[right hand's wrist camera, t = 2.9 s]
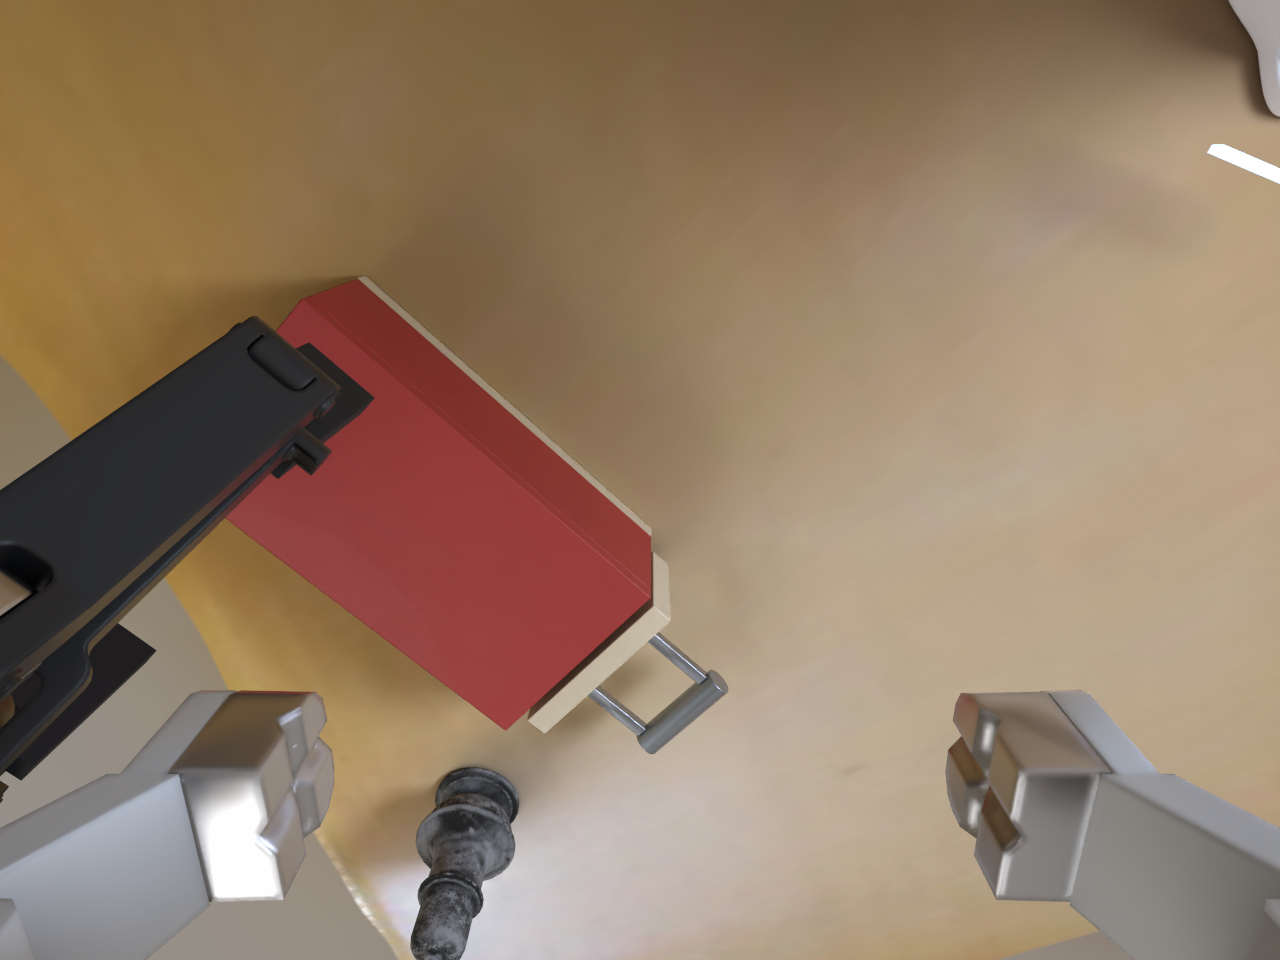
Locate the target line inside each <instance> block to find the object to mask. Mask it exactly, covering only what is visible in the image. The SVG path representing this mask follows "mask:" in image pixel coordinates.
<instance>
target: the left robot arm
mask: <svg viewBox="0 0 1280 960" xmlns="http://www.w3.org/2000/svg"><path fill="white" fill-rule="evenodd" d="M374 398H375V397H373V396H372V395H371V394H370V393H369V392H367V391H366V390H365V389H364V388H363V387H362V386H360V385H359V384H358V383H357V382H356V381H355V380H353V379H352V378H351V377H350V376H349V375H347V374H346V373H345V372H344V371H343V370H342V369H340V368H339V367H338V366H337V365H336V364H334V363H333V362H332V361H331V360H330V359H329V358H327V357H326V356H325V355H324V354H323V353H322V352H320V351H319V350H318V349H317V348H316V347H314V346H313V345H312V344H311V343H310V342H308V343H306V344H304V345H302V346H300V347H298V348H294V347H293V346H292V345H291V344H290V343H288V342H287V341H286V340H285V339H284V338H282V337H281V336H280V335H279V334H278V333H276V332H275V331H274V330H273V329H272V328H270V327H269V326H268V325H267V324H266V323H264V322H263V321H262V320H261V319H260V318H259V317H257V316H252V317H250V318H248V319H247V320H246V321H244V322H243V323H238V324H236V325H235V326H234V327H233V328H231V329H230V331H229V332H228V333H227V334H225V335H224V336H222V337H221V338H220V339H218V340H217V341H215V342H214V343H212V344H211V345H209V346H208V347H207V348H205V349H204V350H202V351H201V352H199V353H198V354H196V355H195V356H194V357H192V358H191V359H189V360H188V361H186V362H185V363H183V364H182V365H181V366H179V367H178V368H176V369H175V370H173V371H172V372H170V373H169V374H168V375H166V376H165V377H163V378H162V379H160V380H159V381H157V382H156V383H155V384H153V385H152V386H150V387H149V388H147V389H146V390H144V391H143V392H142V393H140V394H139V395H137V396H136V397H134V398H133V399H131V400H130V401H129V402H127V403H126V404H124V405H123V406H121V407H120V408H118V409H117V410H116V411H114V412H113V413H111V414H110V415H108V416H107V417H105V418H104V419H103V420H101V421H100V422H98V423H97V424H95V425H94V426H92V427H91V428H90V429H88V430H87V431H85V432H84V433H82V434H81V435H79V436H78V437H77V438H75V439H74V440H72V441H71V442H69V443H68V444H66V445H65V446H64V447H62V448H61V449H59V450H58V451H56V452H55V453H53V454H52V455H50V456H49V457H48V458H46V459H45V460H43V461H42V462H40V463H39V464H37V465H36V466H35V467H33V468H32V469H30V470H29V471H27V472H26V473H25V474H23V475H22V476H20V477H19V478H17V479H16V480H14V481H13V482H12V483H10V484H9V485H7V486H6V487H4V488H3V489H1V490H0V776H1V775H2V774H3V773H4V772H5V771H7V772H9V773H10V774H12V775H13V776H15V777H16V778H18V779H20V780H22V779H23V778H24V777H25V776H27V775H28V774H29V773H30V772H31V771H32V770H33V769H34V768H35V767H36V766H37V765H38V764H39V763H40V762H41V761H42V760H43V759H44V758H46V757H47V756H48V755H49V754H50V753H51V752H52V751H53V750H54V749H55V748H56V747H57V746H58V745H59V744H60V743H61V742H62V741H63V740H65V739H66V738H67V737H68V736H69V735H70V734H71V733H72V732H73V731H74V730H75V729H76V728H77V727H78V726H79V725H80V724H82V723H83V722H84V721H85V720H86V719H87V718H88V717H89V716H90V715H91V714H92V713H93V712H94V711H95V710H96V709H97V708H98V707H99V706H101V705H102V704H103V703H104V702H105V701H106V700H107V699H108V698H109V697H110V696H111V695H112V694H113V693H114V692H115V691H116V690H118V689H119V688H120V687H121V686H122V685H123V684H124V683H125V682H126V681H127V680H128V679H129V678H130V677H131V676H132V675H133V674H134V673H135V672H136V671H138V670H139V669H140V668H141V667H142V666H143V665H144V664H145V663H146V662H147V661H148V660H149V658H150V657H151V656H152V655H153V654H154V653H155V652H156V650H155V649H154V648H152V647H151V646H149V645H148V644H147V643H145V642H144V641H142V640H141V639H140V638H138V637H137V636H135V635H134V634H132V633H131V632H130V631H128V630H127V629H125V628H124V627H123V626H121V625H120V624H118V622H119V621H120V620H121V619H122V618H123V617H124V616H125V615H126V614H127V613H128V612H129V611H130V610H131V609H132V608H133V607H134V606H136V605H137V604H138V603H139V602H140V601H141V600H142V599H143V598H144V597H145V596H146V595H147V594H148V593H149V592H150V591H151V590H152V589H153V588H154V587H155V586H156V585H157V584H158V583H159V582H160V581H161V580H162V579H163V578H164V577H165V576H166V575H167V574H168V573H169V572H170V571H171V570H172V569H173V568H174V567H175V566H176V565H177V564H178V563H179V562H180V561H181V560H182V559H183V558H185V557H186V556H187V555H188V554H189V553H190V552H191V551H192V550H193V549H194V548H195V547H196V546H197V545H198V544H199V543H200V542H201V541H202V540H203V539H204V538H205V537H206V536H207V535H208V534H209V533H210V532H211V531H212V530H213V529H214V528H215V527H216V526H217V525H218V524H219V523H220V522H221V521H222V520H223V519H224V518H225V517H226V516H227V515H228V514H229V513H230V512H231V511H232V510H234V509H235V508H236V507H237V506H238V505H239V504H240V503H241V502H242V501H243V500H244V499H245V498H246V497H247V496H248V495H249V494H250V493H251V492H252V491H253V490H254V489H255V488H256V487H257V486H258V485H259V484H260V483H261V482H262V481H263V480H264V479H265V478H266V477H267V476H268V475H269V474H270V473H271V474H272V475H273V476H274V477H276V478H277V479H279V478H280V477H282V476H283V475H284V474H285V473H287V472H288V471H289V470H291V469H292V468H293V467H294V466H296V465H298V466H299V467H301V468H302V469H303V470H304V471H306V472H307V473H308V474H309V475H311V476H312V475H313V474H314V473H315V471H316V470H317V469H318V468H319V467H320V466H321V465H322V464H323V463H324V462H325V460H326V459H327V458H328V457H329V456H330V454H331V453H332V450H331V449H329V448H328V447H327V446H326V445H324V444H323V443H325V442H326V441H327V440H329V439H330V438H331V437H332V436H334V435H335V434H336V433H337V432H339V431H340V430H341V429H342V428H344V427H345V426H346V425H348V424H349V423H350V422H351V421H353V420H354V419H355V418H356V417H358V416H359V415H360V414H361V413H362V412H363V411H364V410H365V409H366V408H367V407H368V405H369V404H370V403H371V402H372V401H373V400H374ZM8 787H9V786H7V785H6V784H4V783H3V782H1V781H0V803H1V802H2V800H3V799H2V797H3V793H4V792H5V791H6V790H7V788H8Z"/></svg>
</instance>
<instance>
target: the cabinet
mask: <svg viewBox="0 0 1280 960" xmlns="http://www.w3.org/2000/svg"><path fill="white" fill-rule="evenodd" d="M276 333H278V334H279V335H280V336H281V337H282V338H284V339H285V340H286V341H287V342H288V343H290V344H291V345H292V346H293V347H294V348H298V347H300V346H302V345H304V344H306V343H308V342H310V343H311V344H312V345H313V346H314V347H316V348H317V349H318V350H319V351H320V352H322V353H323V354H324V355H325V356H326V357H327V358H329V359H330V360H331V361H332V362H333V363H334V364H336V365H337V366H338V367H339V368H340V369H342V370H343V371H344V372H345V373H346V374H347V375H349V376H350V377H351V378H352V379H353V380H355V381H356V382H357V383H358V384H359V385H360V386H362V387H363V388H364V389H365V390H366V391H367V392H369V393H370V394H371V395H372V396H373V397H375V398H374V400H373V401H372V402H371V403H370V404H369V405H368V407H367V408H366V409H365V410H364V411H363V412H362V413H361V414H360V415H359V416H358V417H356V418H355V419H354V420H353V421H351V422H350V423H349V424H348V425H346V426H345V427H344V428H342V429H341V430H340V431H339V432H337V433H336V434H335V435H334V436H332V437H331V438H330V439H329V440H327V441H326V442H325V443H323V444H324V445H326V446H327V447H328V448H329V449H331V450H332V453H331V454H330V456H329V457H328V458H327V459H326V460H325V462H324V463H323V464H322V465H321V466H320V467H319V468H318V469H317V470H316V471H315V473H314V474H313V475H312V476H311V475H309V474H308V473H307V472H306V471H304V470H303V469H302V468H301V467H299V466H298V465H296V466H294V467H293V468H292V469H291V470H289V471H288V472H287V473H285V474H284V475H283V476H282V477H280V478H279V479H277V478H276V477H274V476H273V475H272V474H271V473H270V474H269V475H268V476H267V477H266V478H265V479H264V480H263V481H262V482H261V483H260V484H259V485H258V486H257V487H256V488H255V489H254V490H253V491H252V492H251V493H250V494H249V495H248V496H247V497H246V498H245V499H244V500H243V501H242V502H241V503H240V504H239V505H238V506H237V507H236V508H235V509H234V510H232V511H231V512H230V513H229V514H228V515H227V516H226V517H225V518H226V519H227V520H228V521H230V522H231V523H232V524H234V525H235V526H236V527H238V528H239V529H240V530H242V531H243V532H244V533H246V534H247V535H248V536H250V537H251V538H252V539H254V540H255V541H256V542H257V543H259V544H260V545H261V546H263V547H264V548H265V549H267V550H268V551H269V552H271V553H272V554H273V555H275V556H276V557H277V558H279V559H280V560H281V561H283V562H284V563H285V564H287V565H288V566H289V567H290V568H292V569H293V570H294V571H296V572H297V573H298V574H300V575H301V576H302V577H304V578H305V579H306V580H308V581H309V582H310V583H312V584H313V585H314V586H316V587H317V588H318V589H319V590H321V591H322V592H323V593H325V594H326V595H327V596H329V597H330V598H331V599H333V600H334V601H335V602H337V603H338V604H339V605H341V606H342V607H343V608H345V609H346V610H347V611H349V612H350V613H351V614H352V615H354V616H355V617H356V618H358V619H359V620H360V621H362V622H363V623H364V624H366V625H367V626H368V627H370V628H371V629H372V630H374V631H375V632H376V633H378V634H379V635H380V636H381V637H383V638H384V639H385V640H387V641H388V642H389V643H391V644H392V645H393V646H395V647H396V648H397V649H399V650H400V651H401V652H403V653H404V654H405V655H407V656H408V657H409V658H411V659H412V660H413V661H414V662H416V663H417V664H418V665H420V666H421V667H422V668H424V669H425V670H426V671H428V672H429V673H430V674H432V675H433V676H434V677H436V678H437V679H438V680H440V681H441V682H442V683H443V684H445V685H446V686H447V687H449V688H450V689H451V690H453V691H454V692H455V693H457V694H458V695H459V696H461V697H462V698H463V699H465V700H466V701H467V702H469V703H470V704H471V705H473V706H474V707H475V708H476V709H478V710H479V711H480V712H482V713H483V714H484V715H486V716H487V717H488V718H490V719H491V720H492V721H494V722H495V723H496V724H498V725H499V726H500V727H502V728H503V729H504V730H507V729H508V728H509V727H510V726H511V725H512V724H513V723H514V722H516V721H517V720H518V719H519V718H520V717H521V716H522V715H523V714H524V713H525V712H527V711H528V710H529V709H530V708H531V707H532V706H533V705H534V704H535V703H536V702H537V701H539V700H540V699H541V698H542V697H543V696H544V695H545V694H546V693H547V692H548V691H549V690H551V689H552V688H553V687H554V686H555V685H556V684H557V683H558V682H559V681H560V680H562V679H563V678H564V677H565V676H566V675H567V674H568V673H569V672H570V671H571V670H572V669H574V668H575V667H576V666H577V665H578V664H579V663H580V662H581V661H582V660H583V659H584V658H586V657H587V656H588V655H589V654H590V653H591V652H592V651H593V650H594V649H595V648H596V647H598V646H599V645H600V644H601V643H602V642H603V641H604V640H605V639H606V638H607V637H609V636H610V635H611V634H612V633H613V632H614V631H615V630H616V629H617V628H618V627H619V626H621V625H622V624H623V623H624V622H625V621H626V620H627V619H628V618H629V617H630V616H631V615H633V614H634V613H635V612H636V611H637V610H638V609H639V608H640V607H641V606H642V605H643V604H645V603H646V602H647V601H648V600H649V599H650V598H651V537H652V529H651V528H650V527H649V526H648V525H647V524H646V523H645V522H643V521H642V520H641V519H640V518H639V517H638V516H637V515H635V514H634V513H633V512H632V511H631V510H630V509H629V508H628V507H626V506H625V505H624V504H623V503H622V502H621V501H620V500H618V499H617V498H616V497H615V496H614V495H613V494H612V493H611V492H609V491H608V490H607V489H606V488H605V487H604V486H603V485H602V484H600V483H599V482H598V481H597V480H596V479H595V478H594V477H592V476H591V475H590V474H589V473H588V472H587V471H586V470H585V469H583V468H582V467H581V466H580V465H579V464H578V463H577V462H575V461H574V460H573V459H572V458H571V457H570V456H569V455H568V454H566V453H565V452H564V451H563V450H562V449H561V448H560V447H558V446H557V445H556V444H555V443H554V442H553V441H552V440H551V439H549V438H548V437H547V436H546V435H545V434H544V433H543V432H542V431H540V430H539V429H538V428H537V427H536V426H535V425H534V424H532V423H531V422H530V421H529V420H528V419H527V418H526V417H525V416H523V415H522V414H521V413H520V412H519V411H518V410H517V409H515V408H514V407H513V406H512V405H511V404H510V403H509V402H508V401H506V400H505V399H504V398H503V397H502V396H501V395H500V394H498V393H497V392H496V391H495V390H494V389H493V388H492V387H491V386H489V385H488V384H487V383H486V382H485V381H484V380H483V379H482V378H480V377H479V376H478V375H477V374H476V373H475V372H474V371H472V370H471V369H470V368H469V367H468V366H467V365H466V364H465V363H463V362H462V361H461V360H460V359H459V358H458V357H457V356H455V355H454V354H453V353H452V352H451V351H450V350H449V349H448V348H446V347H445V346H444V345H443V344H442V343H441V342H440V341H438V340H437V339H436V338H435V337H434V336H433V335H432V334H431V333H429V332H428V331H427V330H426V329H425V328H424V327H423V326H422V325H420V324H419V323H418V322H417V321H416V320H415V319H414V318H412V317H411V316H410V315H409V314H408V313H407V312H406V311H405V310H403V309H402V308H401V307H400V306H399V305H398V304H397V303H395V302H394V301H393V300H392V299H391V298H390V297H389V296H388V295H386V294H385V293H384V292H383V291H382V290H381V289H380V288H379V287H377V286H376V285H375V284H374V283H373V282H372V281H371V280H369V279H368V278H367V277H366V276H362V277H359V278H357V279H356V280H353V281H350V282H348V283H345V284H342V285H339V286H336V287H334V288H331V289H328V290H325V291H323V292H320V293H317V294H314V295H311V296H309V297H306V298H303V299H301V300H300V301H299V303H298V304H297V305H296V306H295V308H294V309H293V310H292V311H291V313H290V314H289V315H288V316H287V318H286V319H285V320H284V322H283V323H282V324H281V325H280V327H279V328H278V329H277V330H276Z"/></svg>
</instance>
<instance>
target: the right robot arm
mask: <svg viewBox="0 0 1280 960" xmlns="http://www.w3.org/2000/svg"><path fill="white" fill-rule="evenodd" d="M1228 1H1229V3H1230V5H1231V6H1232V8H1233V10H1234V12H1235V13H1236V15H1237V16H1238V18H1239V19H1240V21H1241V22H1242V24H1243V25H1244V27H1245V28H1246V30H1247V31H1248V33H1249V34H1250V36H1251V38H1252V40H1253V42H1254V44H1255V46H1256V49H1257V51H1258V60H1259V69H1260V77H1261V84H1262V90H1263V95H1264V98H1265V101H1266V104H1267V106H1268V108H1269V109H1270V111H1271V112H1272V113H1273V114H1275V115H1276V116H1278V117H1280V0H1228ZM1208 153H1210V154H1212V155H1215V156H1217V157H1219V158H1222V159H1224V160H1226V161H1229V162H1231V163H1233V164H1236V165H1238V166H1240V167H1243V168H1245V169H1247V170H1250V171H1252V172H1254V173H1257V174H1259V175H1261V176H1264V177H1266V178H1268V179H1271V180H1273V181H1275V182H1278V183H1280V169H1279V168H1277V167H1274V166H1272V165H1270V164H1268V163H1265V162H1263V161H1261V160H1258V159H1256V158H1254V157H1251V156H1249V155H1247V154H1244V153H1242V152H1240V151H1237V150H1235V149H1233V148H1230V147H1228V146H1226V145H1223V144H1221V145H1212V146H1211V148H1210V150H1209V151H1208ZM326 722H327V718H326V713H325V708H324V703H323V698H322V697H320V696H319V695H318V694H317V693H316V692H287V691H235V690H201V691H198V692H195V693H192V694H190V695H189V696H188V697H187V699H186V700H185V701H184V702H183V703H182V704H181V705H180V706H179V708H178V709H177V710H176V711H175V712H174V713H173V714H172V716H171V717H170V718H169V719H168V720H167V721H166V722H165V723H164V725H163V726H162V727H161V728H160V729H159V730H158V732H157V733H156V734H155V735H154V736H153V737H152V738H151V739H150V740H149V742H148V743H147V744H146V745H145V746H144V747H143V748H142V749H141V751H140V752H139V753H138V754H137V755H136V756H135V757H134V759H133V760H132V761H131V762H130V763H129V764H128V765H127V766H126V768H125V769H124V770H123V771H122V772H121V773H120V774H106V775H104V776H102V777H100V778H98V779H96V780H94V781H92V782H90V783H88V784H86V785H84V786H82V787H80V788H78V789H76V790H74V791H72V792H70V793H68V794H66V795H65V796H63V797H61V798H59V799H57V800H55V801H53V802H51V803H49V804H47V805H45V806H43V807H41V808H39V809H37V810H35V811H33V812H31V813H29V814H27V815H25V816H23V817H21V818H19V819H17V820H15V821H13V822H11V823H9V824H7V825H5V826H3V827H1V828H0V960H146V959H148V958H149V957H150V956H151V955H152V954H154V953H155V952H156V951H157V950H158V949H160V948H161V947H162V946H163V945H164V944H165V943H167V942H168V941H169V940H170V939H171V938H172V937H174V936H175V935H176V934H177V933H178V932H180V931H181V930H182V929H183V928H184V927H185V926H187V925H188V924H189V923H190V922H191V921H193V920H194V919H195V918H196V917H197V916H198V915H200V914H201V913H202V912H203V911H204V910H205V909H207V908H208V907H209V906H210V903H209V902H222V901H256V900H283V899H284V898H285V896H286V894H287V892H288V890H289V888H290V886H291V884H292V882H293V880H294V878H295V876H296V874H297V872H298V870H299V868H300V866H301V864H302V862H303V860H304V858H305V856H306V851H305V846H304V840H303V838H305V837H306V836H308V835H309V834H310V833H312V832H313V831H315V830H316V829H317V828H319V827H320V826H321V824H322V821H323V819H324V817H325V815H326V813H327V811H328V808H329V804H330V800H331V795H332V791H333V786H334V762H333V755H332V750H331V749H330V747H329V746H328V745H327V744H326V743H325V742H324V741H323V740H322V739H321V738H320V737H319V734H320V732H321V730H322V729H323V727H324V725H325V723H326ZM953 722H954V723H955V725H956V727H957V729H958V730H959V732H960V734H961V737H960V738H959V739H958V740H957V741H956V742H955V743H954V744H953V745H952V746H951V747H950V749H949V750H948V756H947V764H946V782H947V793H948V797H949V801H950V804H951V807H952V811H953V813H954V815H955V817H956V819H957V821H958V824H959V826H960V827H961V828H963V829H964V830H965V831H967V832H968V833H970V834H971V835H972V836H974V837H975V838H977V840H976V846H975V851H974V856H975V858H976V860H977V862H978V864H979V866H980V868H981V870H982V872H983V874H984V876H985V878H986V880H987V882H988V884H989V886H990V888H991V890H992V892H993V894H994V896H995V898H996V900H1022V901H1058V902H1071V903H1070V906H1071V907H1072V908H1074V909H1075V910H1076V911H1077V912H1078V913H1080V914H1081V915H1082V916H1083V917H1084V918H1085V919H1087V920H1088V921H1089V922H1090V923H1091V924H1092V925H1094V926H1095V927H1096V928H1097V929H1098V930H1100V931H1101V932H1102V933H1103V934H1104V935H1106V936H1107V937H1108V938H1109V939H1110V940H1111V941H1113V942H1114V943H1115V944H1116V945H1117V946H1118V947H1120V948H1121V949H1122V950H1123V951H1124V952H1126V953H1127V954H1128V955H1129V956H1130V957H1131V958H1133V959H1134V960H1280V828H1278V827H1276V826H1274V825H1272V824H1270V823H1269V822H1267V821H1265V820H1263V819H1261V818H1259V817H1257V816H1255V815H1253V814H1251V813H1249V812H1247V811H1245V810H1243V809H1241V808H1239V807H1237V806H1235V805H1233V804H1231V803H1229V802H1227V801H1225V800H1223V799H1221V798H1219V797H1217V796H1215V795H1213V794H1211V793H1209V792H1207V791H1206V790H1204V789H1202V788H1200V787H1198V786H1196V785H1194V784H1192V783H1190V782H1188V781H1186V780H1184V779H1182V778H1180V777H1178V776H1176V775H1174V774H1160V773H1159V772H1158V771H1157V770H1156V769H1155V768H1154V766H1153V765H1152V764H1151V763H1150V762H1149V761H1148V760H1147V759H1146V757H1145V756H1144V755H1143V754H1142V753H1141V752H1140V751H1139V750H1138V748H1137V747H1136V746H1135V745H1134V744H1133V743H1132V742H1131V740H1130V739H1129V738H1128V737H1127V736H1126V735H1125V734H1124V733H1123V731H1122V730H1121V729H1120V728H1119V727H1118V726H1117V725H1116V723H1115V722H1114V721H1113V720H1112V719H1111V718H1110V717H1109V716H1108V714H1107V713H1106V712H1105V711H1104V710H1103V709H1102V708H1101V707H1100V705H1099V704H1098V703H1097V702H1096V701H1095V700H1094V699H1093V697H1092V696H1091V695H1090V694H1088V693H1086V692H1084V691H1081V690H1059V691H1040V692H1005V693H961V694H960V696H959V698H958V700H957V702H956V706H955V712H954V717H953Z"/></svg>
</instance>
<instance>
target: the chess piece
mask: <svg viewBox="0 0 1280 960" xmlns="http://www.w3.org/2000/svg"><path fill="white" fill-rule="evenodd" d="M435 802H436V808H435V809H434V810H433V811H432V812H431V813H430V814H429V815H428V816H427V817H426V818H425V819H424V820H423V821H422V822H421V824H420V827H419V829H418V831H417V836H416V845H417V850H418V853H419V855H420V856H421V858H422V860H423V862H424V863H425V864H426V865H427V866H428V867H429V868H430V869H431V871H430V874H429V877H428V878H427V879H425V880H424V881H423V882H422V883H421V885H420V888H419V890H418V901H419V904H420V906H421V907H420V910H419V913H418V916H417V919H416V923H415V926H414V929H413V932H412V935H411V945H410V947H411V951H412V953H413V955H414V957H415V958H416V960H460V958H461V956H462V954H463V952H464V951H465V947H466V943H467V939H468V935H469V931H470V926H471V922H472V918H474V917H475V916H476V915H478V914H479V912H480V911H481V909H482V906H483V895H482V892H481V887H482V882H483V881H485V880H488V879H491V878H493V877H495V876H497V875H499V874H500V873H502V872H503V871H504V870H505V869H506V868H507V867H508V866H509V864H510V862H511V861H512V859H513V857H514V851H515V841H514V835H513V834H512V830H511V825H510V824H511V823H512V822H513V821H514V819H515V817H516V815H517V814H518V808H519V799H518V794H517V792H516V790H515V789H514V787H513V785H512V784H511V783H510V782H509V781H508V780H507V779H506V778H504V777H503V776H501V775H500V774H498V773H496V772H493V771H490V770H488V769H482V768H465V769H461V770H458V771H455V772H453V773H452V774H450V775H448V776H447V777H446V778H445V779H444V780H443V781H442V782H441V783H440V785H439V787H438V789H437V791H436V798H435Z"/></svg>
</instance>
